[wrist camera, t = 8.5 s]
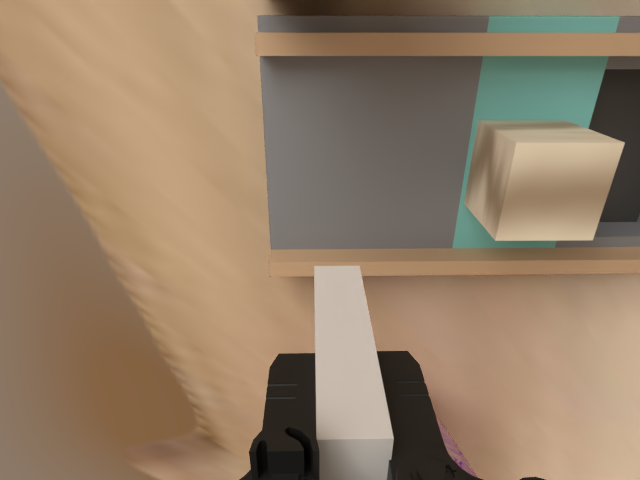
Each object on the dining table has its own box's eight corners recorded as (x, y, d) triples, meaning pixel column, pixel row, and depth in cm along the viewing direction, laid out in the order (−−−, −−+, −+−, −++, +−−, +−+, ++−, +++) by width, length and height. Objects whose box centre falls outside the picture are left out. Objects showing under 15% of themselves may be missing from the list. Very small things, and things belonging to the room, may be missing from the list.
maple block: (478, 120, 29) (516, 142, 23) (566, 120, 29) (625, 142, 23) (463, 203, 31) (495, 240, 26) (544, 203, 31) (592, 240, 26)
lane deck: (262, 16, 28) (253, 15, 24) (737, 17, 29) (816, 16, 24) (275, 254, 36) (269, 287, 32) (645, 252, 37) (691, 283, 32)
